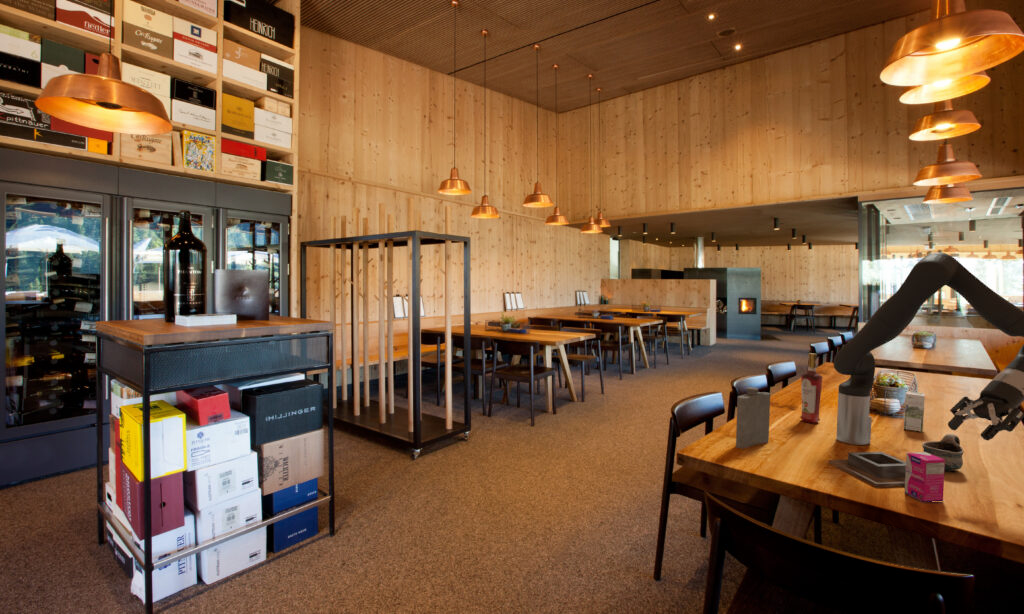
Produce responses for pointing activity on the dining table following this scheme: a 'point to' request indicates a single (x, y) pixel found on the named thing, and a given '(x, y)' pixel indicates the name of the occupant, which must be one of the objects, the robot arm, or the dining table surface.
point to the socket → (874, 468)
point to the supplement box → (924, 476)
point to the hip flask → (752, 418)
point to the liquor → (811, 392)
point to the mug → (946, 451)
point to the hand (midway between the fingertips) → (967, 432)
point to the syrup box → (914, 411)
